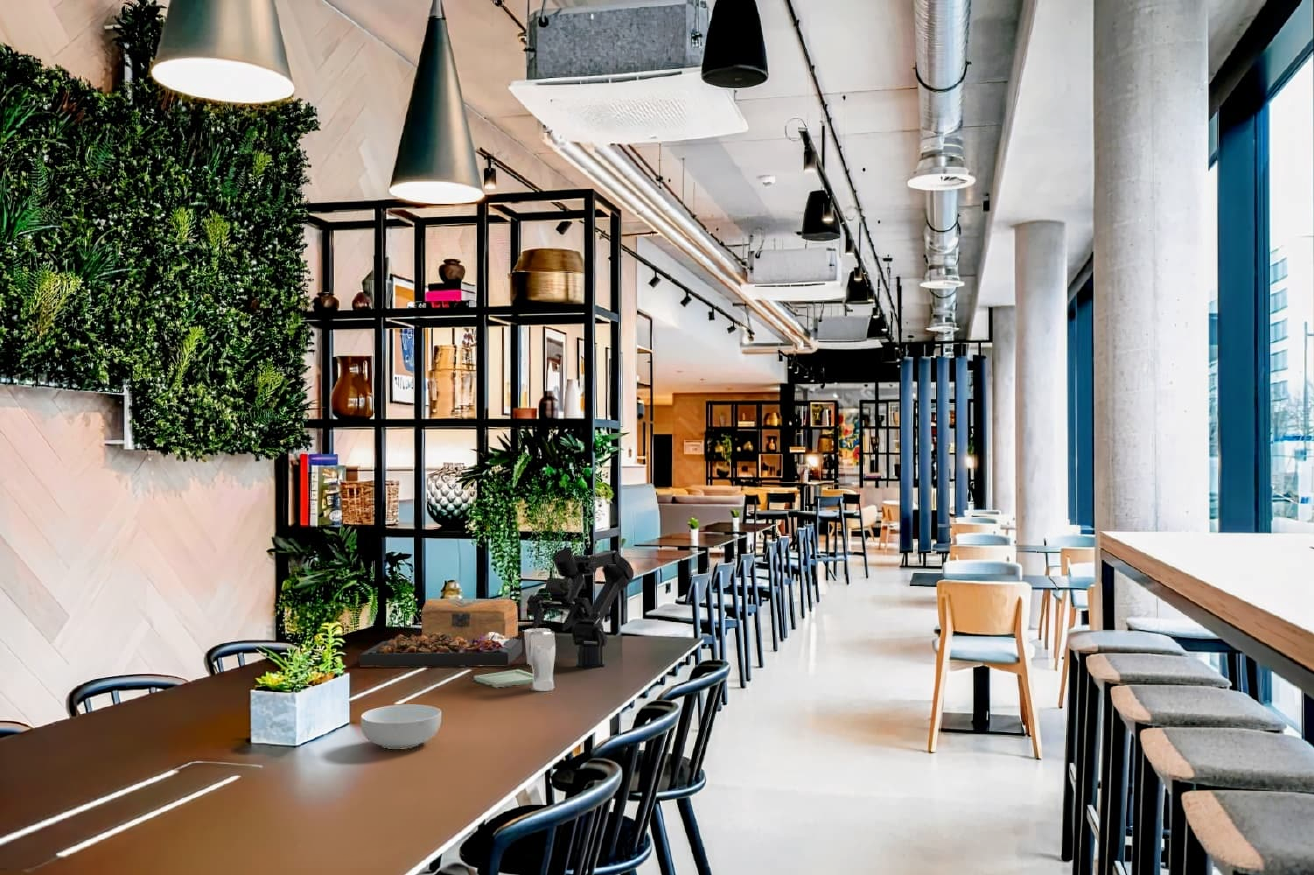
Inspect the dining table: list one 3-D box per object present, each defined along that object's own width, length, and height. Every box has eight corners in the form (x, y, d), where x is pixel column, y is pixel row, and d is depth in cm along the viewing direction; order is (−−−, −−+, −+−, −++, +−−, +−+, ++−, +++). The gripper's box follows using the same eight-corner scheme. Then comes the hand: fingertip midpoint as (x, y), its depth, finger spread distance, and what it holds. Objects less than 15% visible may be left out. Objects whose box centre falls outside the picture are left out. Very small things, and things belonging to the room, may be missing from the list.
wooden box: (419, 643, 365) (418, 602, 365) (437, 635, 381) (437, 596, 382) (503, 644, 360) (503, 602, 360) (518, 636, 376) (518, 596, 376)
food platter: (522, 653, 344) (521, 621, 344) (508, 668, 320) (507, 633, 320) (383, 654, 346) (383, 622, 346) (359, 669, 322) (358, 635, 322)
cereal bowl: (370, 760, 220) (370, 725, 220) (353, 742, 235) (353, 709, 235) (451, 748, 228) (450, 715, 228) (429, 732, 243) (429, 700, 243)
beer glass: (530, 686, 289) (529, 631, 290) (556, 686, 290) (555, 630, 290) (529, 692, 282) (528, 635, 283) (556, 691, 283) (555, 634, 283)
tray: (518, 673, 308) (518, 669, 308) (542, 681, 296) (542, 676, 296) (474, 680, 300) (474, 675, 300) (497, 688, 288) (497, 683, 288)
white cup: (553, 661, 326) (552, 628, 327) (548, 666, 318) (547, 632, 319) (528, 661, 327) (527, 628, 327) (522, 666, 319) (521, 632, 320)
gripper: (531, 567, 306) (509, 606, 295) (589, 568, 298) (568, 609, 287) (544, 595, 312) (522, 634, 301) (601, 597, 304) (581, 638, 293)
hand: (548, 628), depth 295 cm, fingers open, 9 cm apart
